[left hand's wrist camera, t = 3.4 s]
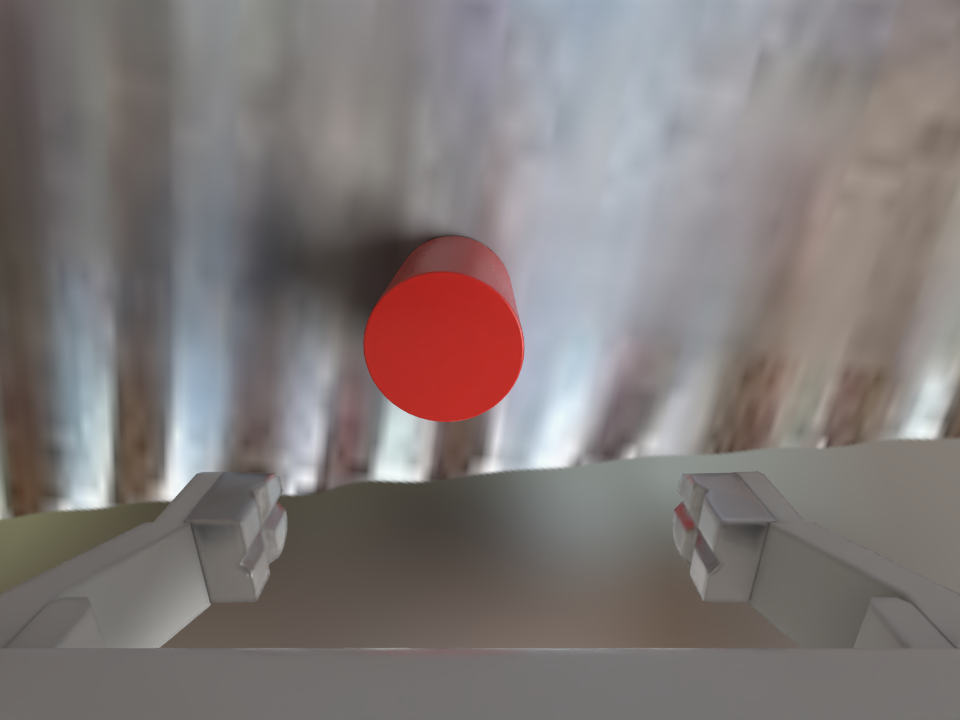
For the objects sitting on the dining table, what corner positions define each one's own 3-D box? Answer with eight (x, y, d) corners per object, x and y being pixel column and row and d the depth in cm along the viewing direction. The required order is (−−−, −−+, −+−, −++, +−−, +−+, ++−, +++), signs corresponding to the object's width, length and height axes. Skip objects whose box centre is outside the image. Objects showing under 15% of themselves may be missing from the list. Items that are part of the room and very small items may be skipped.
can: (461, 210, 22) (453, 236, 15) (534, 302, 24) (556, 362, 17) (371, 285, 23) (329, 340, 17) (447, 369, 25) (435, 449, 18)
